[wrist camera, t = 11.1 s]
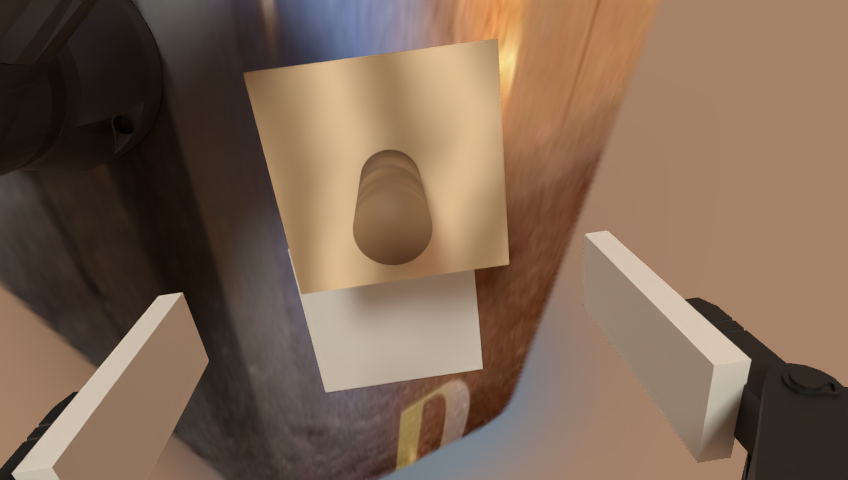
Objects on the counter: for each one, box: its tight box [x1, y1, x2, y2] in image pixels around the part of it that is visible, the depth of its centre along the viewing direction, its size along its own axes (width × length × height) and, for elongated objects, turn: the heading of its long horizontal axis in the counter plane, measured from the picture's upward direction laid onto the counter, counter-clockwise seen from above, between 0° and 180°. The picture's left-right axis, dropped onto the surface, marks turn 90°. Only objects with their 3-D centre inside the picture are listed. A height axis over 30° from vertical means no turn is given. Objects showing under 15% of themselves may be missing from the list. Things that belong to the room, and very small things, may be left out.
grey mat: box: [288, 248, 483, 392], centre depth 45 cm, size 16×16×1 cm
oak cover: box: [243, 39, 509, 294], centre depth 26 cm, size 14×14×9 cm
